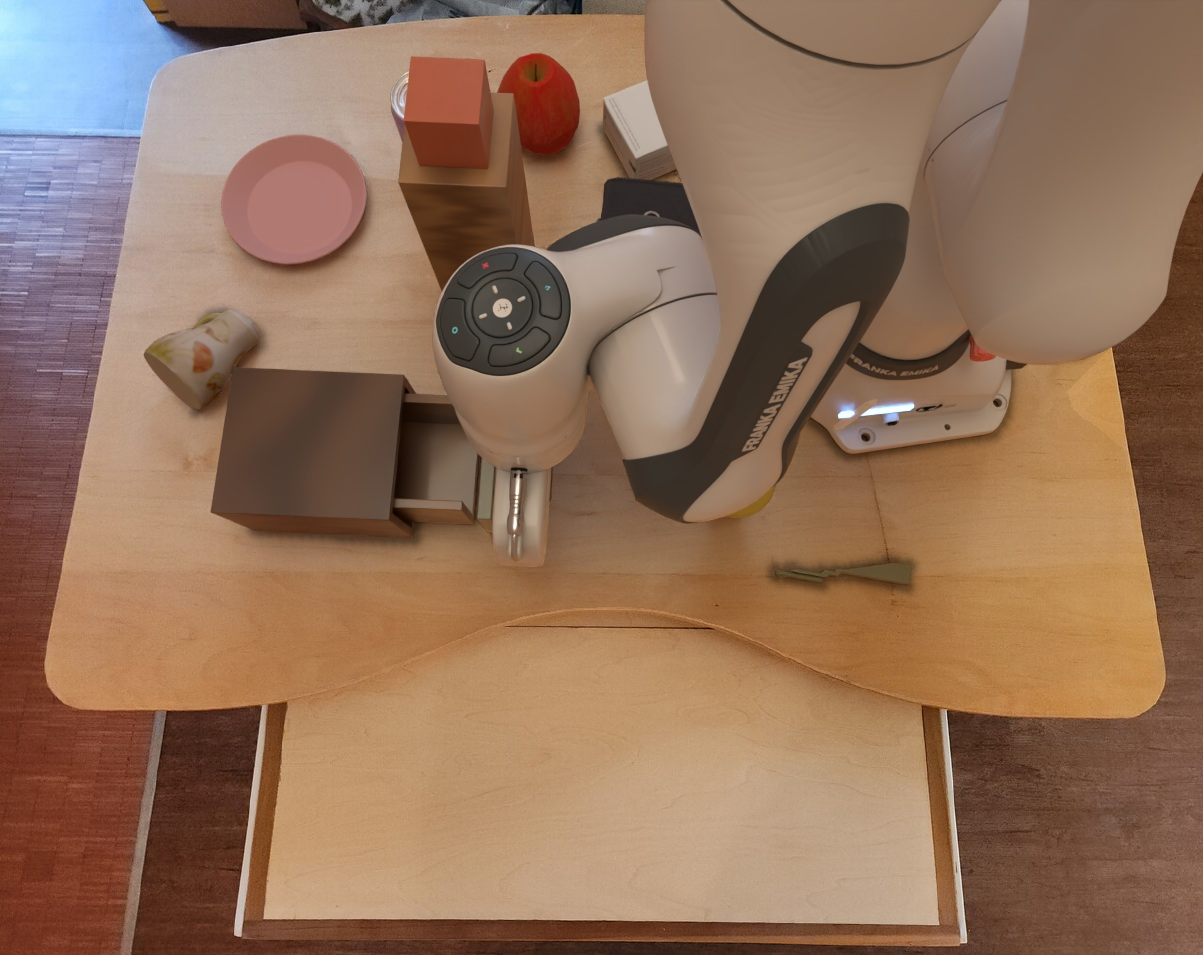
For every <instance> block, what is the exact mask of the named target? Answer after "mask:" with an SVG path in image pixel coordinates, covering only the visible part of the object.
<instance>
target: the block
mask: <svg viewBox="0 0 1203 955" xmlns="http://www.w3.org/2000/svg"><path fill="white" fill-rule="evenodd" d="M409 59H410V60H409V68H408V71H409V77H408V86H407V95H406V104H405V113H404V123H405V126H406V129H407V132H408V135H409V138H410V141H411V143H412V146H413V149H414V152H415V155H416V158H417V161H418V164H419V166H437V167H459V168H482V169H488V168H489V156H490V144H491V132H492V120H493V103H492V98H491V87H490V81H489V75H488V71H487V64H486V60H485V59H479V58H455V57H435V56H433V57H432V56H415V55H414V56H412V55H411V56H410V58H409Z"/></svg>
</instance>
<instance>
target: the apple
mask: <svg viewBox="0 0 1203 955" xmlns="http://www.w3.org/2000/svg"><path fill="white" fill-rule="evenodd" d="M575 83H576V82H575V80H574V78H573V77H572V76H571V74H570V73H569V72H568V71H567V69H566V68H565V67H564V66H562V64H560V63H559V62H558V61H557V60H556V59H554V57H551V56H550V55H549V54H545V53H542V52H533V53H529V54H526V55H522V56H519V57H517V59H516V60H514V61H513V62H512V63H511V65H510V66H509V68H508V69H507V70H506V71H505V74H503V77H502V79H501V81H500V84H499V86H498V89H497V91H496V93H513V94H514V99H515V106H516V114H517V121H518V128H519V135H520V143H521V148H523V149H524V150H527V151H529V152H531V153H533V154H538V155H543V156H549V155H553V154H558V153H559V152H560V151H562V150H564V148H566V147H568V146H569V144H570V143H571V141H573V139H574V137H575V135H576V132H577V130H578V127H579V124H580V114H581V106H580V98H579V94H578V90H577V87H576V84H575Z"/></svg>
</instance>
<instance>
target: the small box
mask: <svg viewBox="0 0 1203 955" xmlns="http://www.w3.org/2000/svg"><path fill="white" fill-rule="evenodd" d="M602 100H603V101H602V102H603V104H602V105H603V106H602V129H603V132H604V133H605V135H606V136H607V139H608V141H609V142H610V144H611V146H612V148H613V150H614V152H615V154H616V155H617V157H618V159H619V161H620V163H621V165H622V167H623V168H624V171H625V173H626V175H627V176H628V178H633V179H643V180H652V181H653V180H655V179H657V178H659V177H661V176H664V175H666V174H669V173H672V172H674V171H675V170H676V171H677V168H676V166H675V163H674V161H673V158H672V155H671V153H670V150H669V147H668V145H667V142H666V139H665V137H664V134H663V131H662V128H661V125H660V123H659V120H658V117H657V114H656V111H655V108H654V104H653V101H652V98H651V94H650V90H649V86H648V81H647V79H646V80H643V81H641V82H638V83H636V84H633V85H631V86H629V87H626V88H623V89H620V90H619V91H617V92H614V93H611V94H609V95H606V96H604V97H602Z"/></svg>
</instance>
